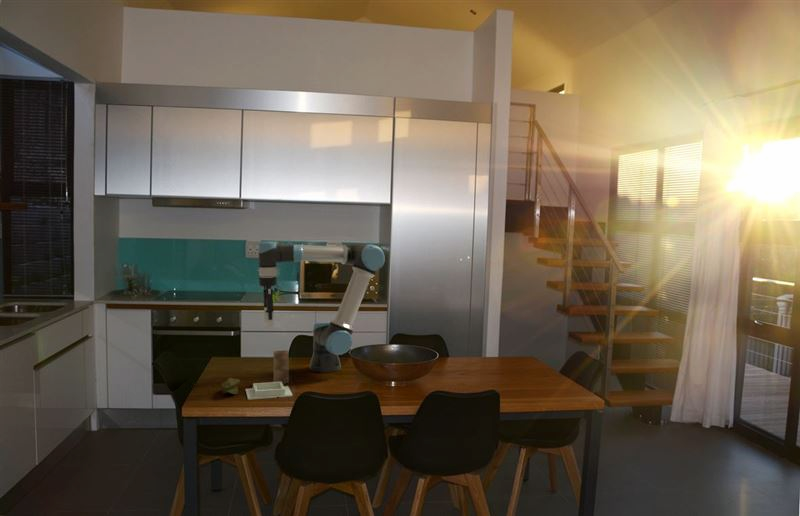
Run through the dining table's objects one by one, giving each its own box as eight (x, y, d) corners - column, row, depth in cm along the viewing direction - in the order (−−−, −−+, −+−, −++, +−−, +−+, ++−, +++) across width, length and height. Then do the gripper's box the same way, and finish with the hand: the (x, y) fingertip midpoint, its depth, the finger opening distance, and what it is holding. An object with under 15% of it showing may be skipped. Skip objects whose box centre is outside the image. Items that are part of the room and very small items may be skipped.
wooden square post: (286, 380, 278) (287, 350, 277) (288, 383, 273) (288, 352, 272) (273, 381, 276) (273, 351, 275) (274, 384, 271) (274, 353, 270)
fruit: (249, 393, 257) (249, 378, 257) (224, 399, 249) (224, 383, 248) (234, 388, 265) (234, 373, 265) (209, 393, 256) (209, 378, 256)
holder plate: (287, 387, 268) (288, 380, 267) (292, 396, 254) (292, 389, 254) (245, 390, 262) (245, 383, 262) (248, 399, 249) (248, 392, 248)
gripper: (257, 274, 282) (258, 319, 283) (261, 280, 258) (262, 329, 260) (273, 273, 284) (274, 318, 286) (279, 279, 260) (280, 328, 262)
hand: (268, 324), depth 273 cm, fingers open, 13 cm apart
